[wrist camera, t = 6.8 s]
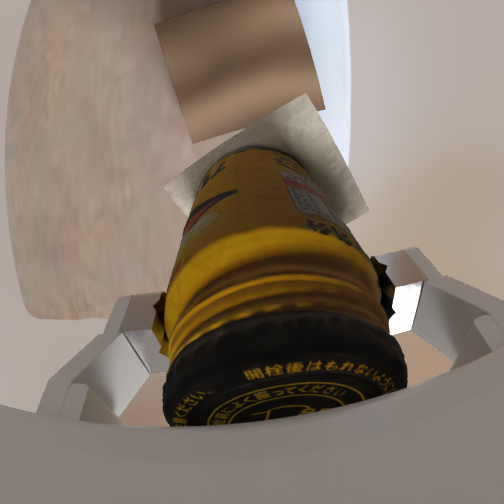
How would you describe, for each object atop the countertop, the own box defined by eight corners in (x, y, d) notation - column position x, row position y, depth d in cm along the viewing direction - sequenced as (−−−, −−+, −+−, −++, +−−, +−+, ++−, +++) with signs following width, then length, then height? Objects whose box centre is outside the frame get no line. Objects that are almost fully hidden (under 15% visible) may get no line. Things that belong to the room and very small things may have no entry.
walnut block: (166, 34, 23) (154, 24, 19) (281, 4, 22) (290, -11, 17) (199, 136, 29) (192, 143, 24) (311, 106, 28) (325, 109, 23)
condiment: (163, 185, 15) (55, 394, 4) (305, 92, 13) (512, 141, 2) (242, 280, 18) (254, 485, 8) (367, 208, 16) (498, 380, 6)
